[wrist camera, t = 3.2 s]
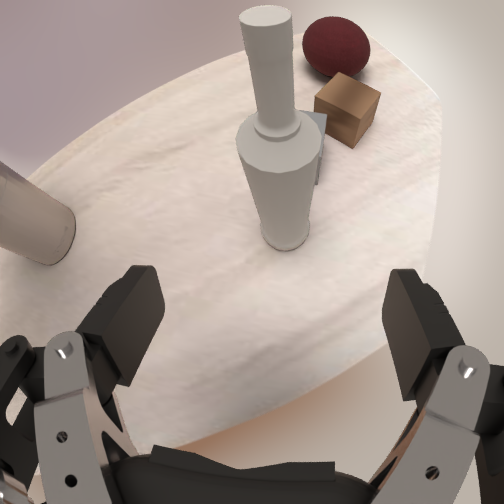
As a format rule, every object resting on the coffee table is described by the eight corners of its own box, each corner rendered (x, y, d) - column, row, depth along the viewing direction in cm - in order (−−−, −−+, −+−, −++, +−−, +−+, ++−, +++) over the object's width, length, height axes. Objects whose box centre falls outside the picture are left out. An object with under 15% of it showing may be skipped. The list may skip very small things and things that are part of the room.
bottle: (285, 199, 34) (265, -15, 10) (318, 229, 32) (358, 17, 8) (252, 230, 33) (175, 27, 9) (285, 262, 32) (264, 65, 8)
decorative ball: (327, 98, 37) (332, 44, 27) (290, 63, 40) (287, 13, 30) (378, 81, 37) (389, 32, 28) (339, 48, 40) (342, 2, 31)
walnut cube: (313, 127, 36) (314, 95, 30) (335, 102, 37) (338, 72, 31) (352, 149, 34) (360, 119, 29) (372, 122, 35) (381, 92, 30)
